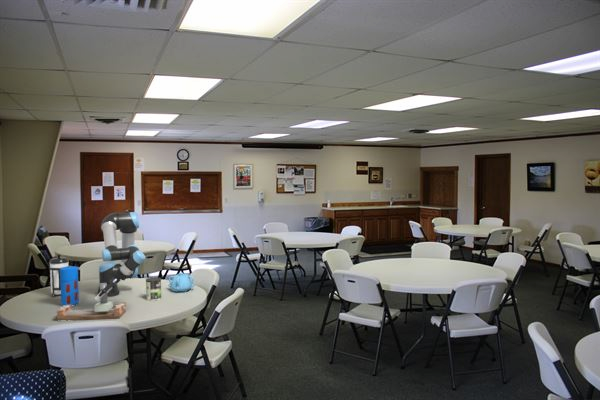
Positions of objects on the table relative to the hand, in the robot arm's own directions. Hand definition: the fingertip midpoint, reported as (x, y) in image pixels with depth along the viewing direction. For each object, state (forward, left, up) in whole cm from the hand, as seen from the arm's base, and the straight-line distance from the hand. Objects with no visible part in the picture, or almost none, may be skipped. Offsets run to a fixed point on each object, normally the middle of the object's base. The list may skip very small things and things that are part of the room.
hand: (99, 296), depth 282 cm
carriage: (0, +2, -8) cm, 8 cm away
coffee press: (-57, -47, -12) cm, 75 cm away
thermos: (-30, -30, -12) cm, 44 cm away
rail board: (0, -5, -12) cm, 13 cm away
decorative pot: (-58, +40, -12) cm, 72 cm away
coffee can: (-37, +24, -12) cm, 46 cm away
